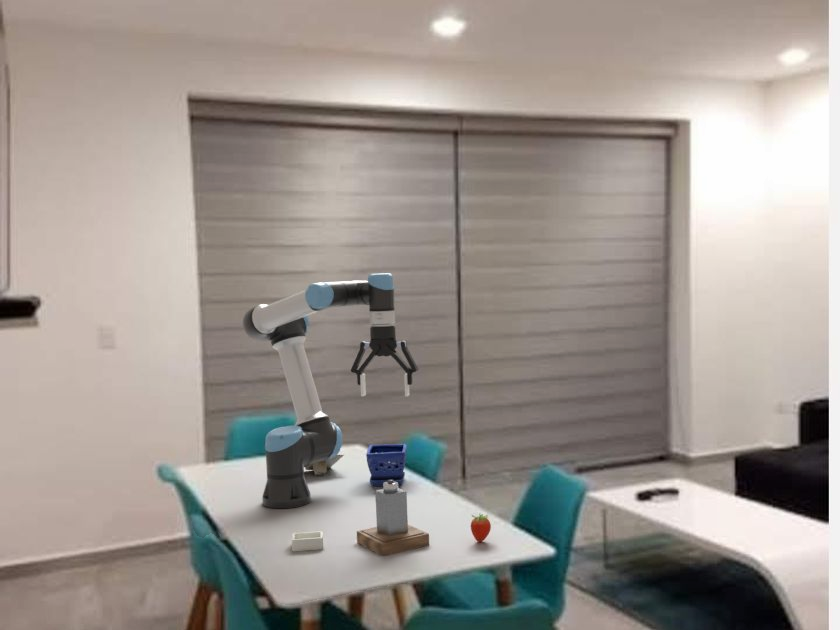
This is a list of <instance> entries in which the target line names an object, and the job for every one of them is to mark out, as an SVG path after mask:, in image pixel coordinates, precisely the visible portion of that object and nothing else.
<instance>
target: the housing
mask: <svg viewBox="0 0 840 630" xmlns="http://www.w3.org/2000/svg"><path fill="white" fill-rule="evenodd" d="M374 493H375V511H376V512H375V514H376V527H377V531H378V532H380V533H382V534H384V535H386V536H388V537H389V536H393V535H397V534H402V533H406V532H408V525H409V523H408V522H409V521H408V520H409V519H408V503H407V502H408V498H407V493H408V492H407V490H404V489H402V488H399V485H398V482H394V480H387V482H384V483H383V486H382V489H376V490H375V492H374Z"/></svg>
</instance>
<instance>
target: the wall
mask: <svg viewBox="0 0 840 630" xmlns="http://www.w3.org/2000/svg"><path fill="white" fill-rule="evenodd" d="M343 456H345V454H337V455H336V456H335V457H333V458H330V459H328V460H326V461H320V462H315V463H311V464H307V465H304V470H306V471H313V472H314V475H315V476H324V475H326V473H327V469H329V468H331V467H332V466H334V465H335V464H336V463H337V462H339V461H340V459H342V458H343Z"/></svg>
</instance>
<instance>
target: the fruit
mask: <svg viewBox="0 0 840 630" xmlns="http://www.w3.org/2000/svg"><path fill="white" fill-rule="evenodd" d="M471 517H472V518H473V519H472V521H471V523H470V531H471V534H472V536H473V537H474V539H475V540H476V542H478V543H482V542H483V541H484V540H486V538H487V537H488V536H489V534H490V532H491V530H492V529H491V528H492V526H491V525H492V524H491V522H490V520H489V516H488V514H487V515H484V514H483V513H482V514H479V515H478V516H476V515H475V516H474V515H473V514H471Z"/></svg>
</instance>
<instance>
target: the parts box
mask: <svg viewBox="0 0 840 630" xmlns="http://www.w3.org/2000/svg"><path fill="white" fill-rule="evenodd" d="M323 533H324V532H323V530H320V531H319V530H318V531H306V532H305V531H304V532H293V533H292V534H291V535H292V536H291V537H292V539H291V542H292V552H301V551H302V552H303V551H315V550H316V551H317V550H324V535H323Z"/></svg>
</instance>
